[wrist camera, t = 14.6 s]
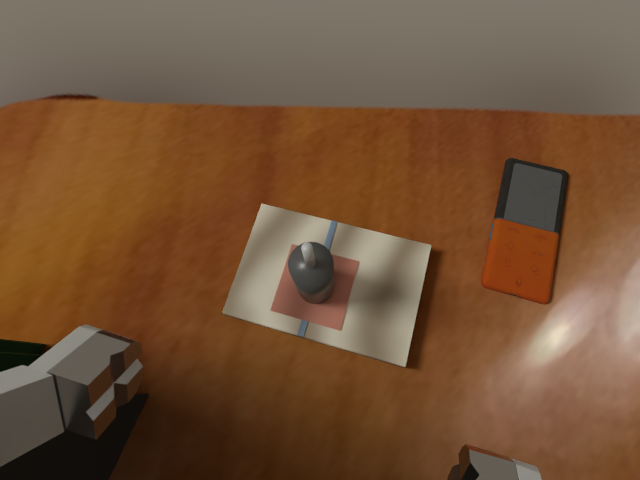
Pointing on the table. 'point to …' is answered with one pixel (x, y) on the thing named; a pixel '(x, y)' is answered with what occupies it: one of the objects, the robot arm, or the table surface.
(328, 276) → the grey cylinder with rod
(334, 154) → the table surface
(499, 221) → the phone
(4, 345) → the binder
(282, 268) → the cream flat block
